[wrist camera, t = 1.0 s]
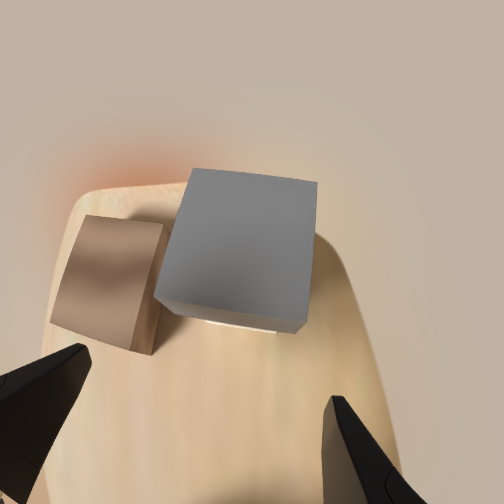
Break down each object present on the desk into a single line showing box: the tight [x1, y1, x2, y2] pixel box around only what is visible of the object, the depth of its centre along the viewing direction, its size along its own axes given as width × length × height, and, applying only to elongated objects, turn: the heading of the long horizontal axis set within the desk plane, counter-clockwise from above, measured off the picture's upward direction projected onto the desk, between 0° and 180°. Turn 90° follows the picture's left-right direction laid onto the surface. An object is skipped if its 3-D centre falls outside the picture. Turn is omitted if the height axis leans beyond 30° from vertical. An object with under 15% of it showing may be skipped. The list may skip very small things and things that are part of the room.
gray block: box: [154, 168, 317, 334], centre depth 17 cm, size 8×7×4 cm
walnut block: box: [50, 215, 170, 356], centre depth 22 cm, size 10×8×4 cm
